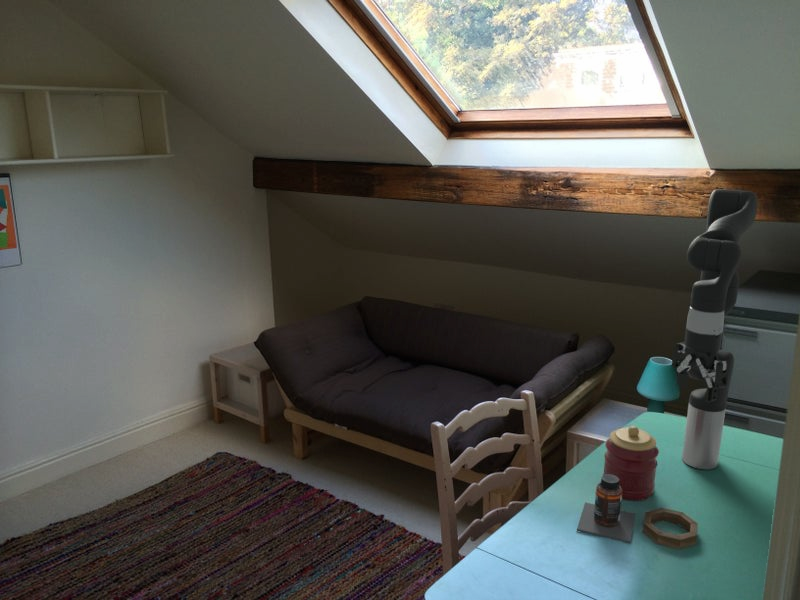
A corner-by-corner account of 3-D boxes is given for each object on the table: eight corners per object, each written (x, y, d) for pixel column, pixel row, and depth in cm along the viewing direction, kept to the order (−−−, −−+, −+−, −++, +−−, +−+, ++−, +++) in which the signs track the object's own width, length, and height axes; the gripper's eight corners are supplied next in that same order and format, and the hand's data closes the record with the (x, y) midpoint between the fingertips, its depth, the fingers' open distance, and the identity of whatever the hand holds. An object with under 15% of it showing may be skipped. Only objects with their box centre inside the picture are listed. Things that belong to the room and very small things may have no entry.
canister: (664, 498, 175) (671, 436, 170) (617, 505, 173) (623, 441, 168) (637, 472, 188) (643, 413, 183) (592, 477, 185) (598, 417, 180)
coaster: (584, 504, 173) (585, 502, 173) (635, 515, 168) (635, 513, 168) (576, 531, 162) (576, 528, 162) (630, 543, 158) (630, 541, 158)
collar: (645, 513, 169) (646, 504, 169) (696, 524, 165) (697, 515, 164) (641, 540, 159) (642, 531, 158) (695, 553, 155) (697, 543, 154)
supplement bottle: (624, 522, 165) (629, 480, 162) (608, 530, 162) (612, 487, 158) (604, 510, 170) (608, 469, 166) (588, 518, 166) (592, 476, 163)
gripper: (668, 320, 159) (660, 385, 164) (716, 339, 147) (706, 409, 151) (693, 316, 162) (685, 380, 167) (743, 335, 149) (732, 404, 154)
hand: (695, 394), depth 159 cm, fingers open, 8 cm apart
